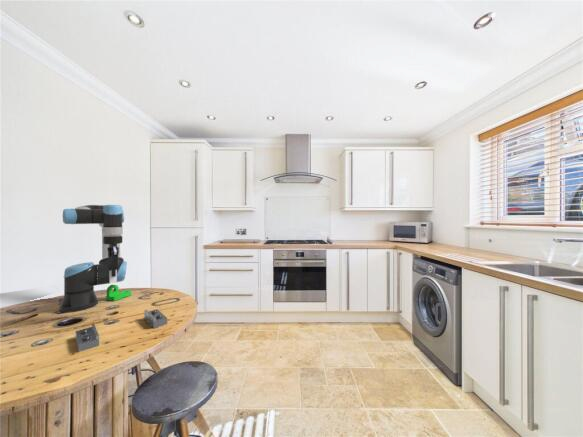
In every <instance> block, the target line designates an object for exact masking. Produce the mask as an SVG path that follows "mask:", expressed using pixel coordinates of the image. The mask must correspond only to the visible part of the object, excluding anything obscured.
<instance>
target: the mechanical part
mask: <svg viewBox="0 0 583 437" xmlns="http://www.w3.org/2000/svg"><path fill="white" fill-rule="evenodd" d="M119 288H120V287H119V286H118V285H117V284H111V285H109V286H108V287H107V289H106V300H107V301H118V300H122V299H124V298H126V297H129V296H131V295H132V290H129V289H126V290H123V291H119V290H120V289H119ZM112 290H113V291H112Z"/></svg>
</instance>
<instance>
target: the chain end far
mask: <svg viewBox="0 0 583 437" xmlns="http://www.w3.org/2000/svg"><path fill="white" fill-rule="evenodd" d="M143 313H144V314H143V319H144V320H145V321H146V323H148V324H149V325H150V326H151V327H152V328H153V329H155V328H159V327H162V326H165V325H168V317H167V316H166V315H164V313H163V312H161V311H160V310H159V309H157V308H156V309H152V310H149V311H148V310H147V309H144V310H143Z"/></svg>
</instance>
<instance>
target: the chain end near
mask: <svg viewBox="0 0 583 437" xmlns="http://www.w3.org/2000/svg"><path fill="white" fill-rule="evenodd" d="M75 341H76V345H77V346H76V347H77V350H78V352H79V353H80V352H83V351H86V350H90V349H92V348H95V347H99V346H100V335H99V332H98V330H97V328H96V325H95V323H91V327H89V326H88V327H87V328H82V329H79V330H76V331H75Z"/></svg>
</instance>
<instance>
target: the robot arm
mask: <svg viewBox="0 0 583 437" xmlns="http://www.w3.org/2000/svg"><path fill="white" fill-rule="evenodd" d="M62 222H63V224H64V225H90V224H91V225H92V224H93V225H95V224H96V225H99V227H101V259H100V260H99V261H98V264H97V263H96V264H95V263H94V262H92V261H89V262H82V263H77V264H74V265H70V266H68V267H66V268H65V269H64V274H63V275H64V276H63V279H64V280H63V281H64V282H63V283H64V284H63V286H64V288H63V289H64V293H63V294H64V295H63V298H62V300H61V302H60V304H59V310H58V311H59V312H60V313H75V312H79V311H86V310H87V309H91V308H93V307H95V306H97V305H98V304H99V299H98V297H97V294H96V292H95V289H94V288H95V286H100V285H101V286H102V285H106V284H107V285H108V284H111V285H112V284H116V283H120V282H123V281H124V280H125V279H126V273H127V265H128V262H127V261H126V260H125V259H124V258H123V257H121V244H122V243H123V235H124V233H123V229H124V228H123V223H124V222H125V215H124V209H123V206H122V205H119V204H105V205H103V204H88V205H87V204H86V205H80V206H78V207H75V208H64V209H63V210H62Z"/></svg>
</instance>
